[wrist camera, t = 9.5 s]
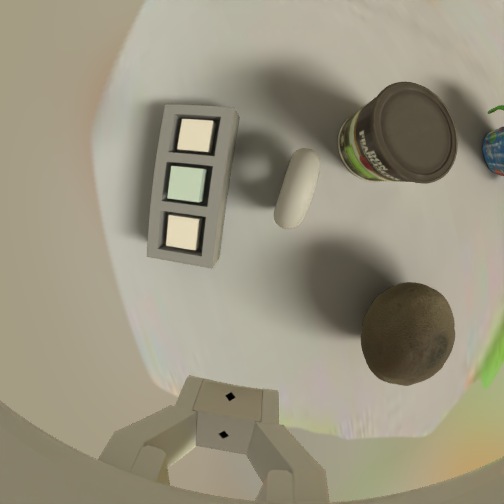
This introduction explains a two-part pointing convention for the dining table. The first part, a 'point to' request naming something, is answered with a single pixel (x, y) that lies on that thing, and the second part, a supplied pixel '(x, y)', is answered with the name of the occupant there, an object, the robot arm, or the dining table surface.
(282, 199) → the donut
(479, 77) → the dining table surface
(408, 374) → the coconut
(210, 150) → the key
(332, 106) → the dining table surface
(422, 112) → the coffee can
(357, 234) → the dining table surface
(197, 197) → the key mid
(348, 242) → the dining table surface
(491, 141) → the snack cup
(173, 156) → the keypad
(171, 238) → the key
